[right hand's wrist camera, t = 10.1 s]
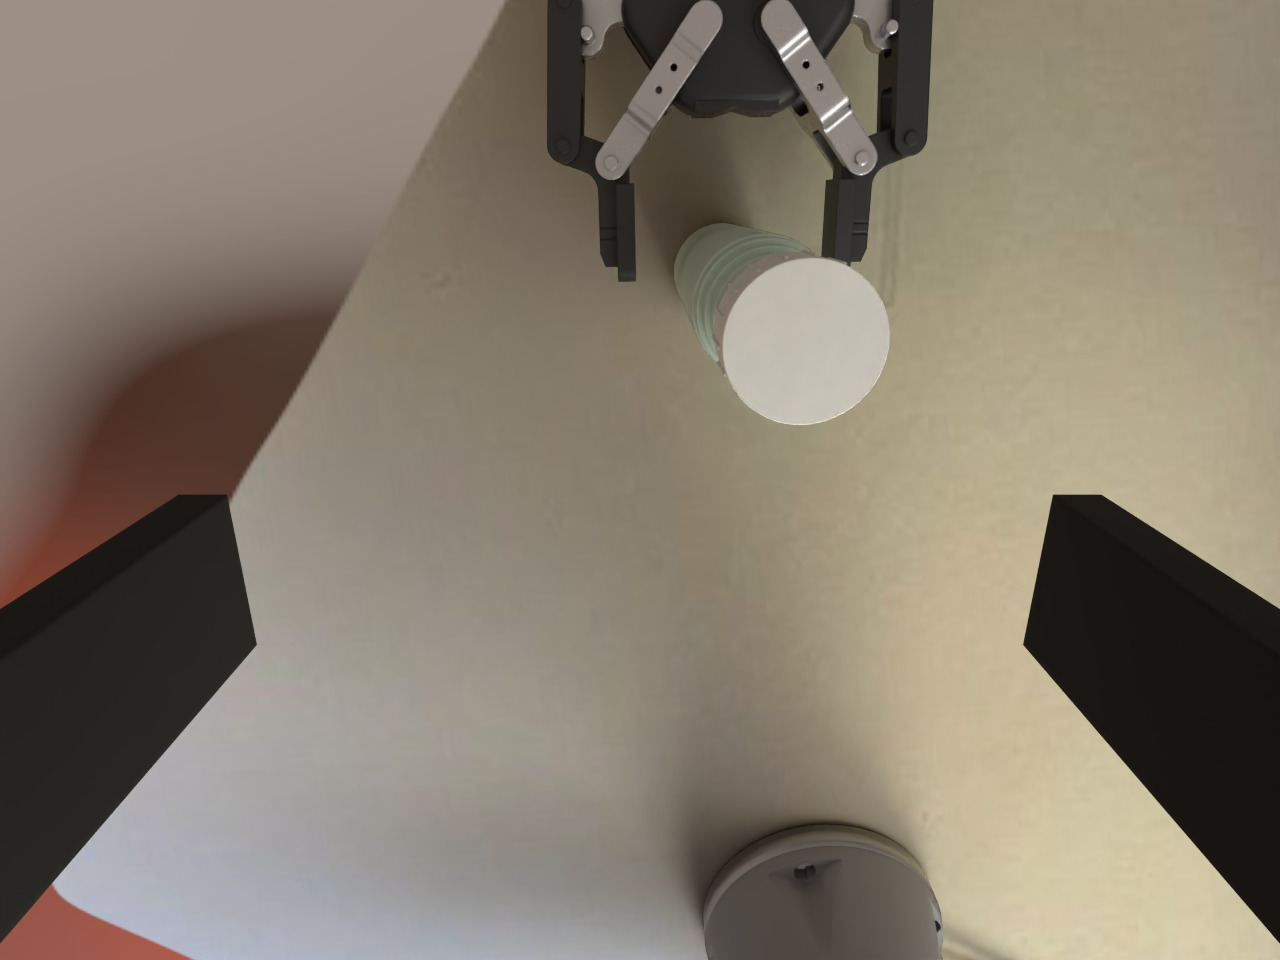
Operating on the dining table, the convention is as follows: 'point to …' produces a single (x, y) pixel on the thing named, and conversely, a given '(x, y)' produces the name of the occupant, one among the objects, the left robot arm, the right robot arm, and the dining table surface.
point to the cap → (801, 337)
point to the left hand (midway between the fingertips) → (730, 278)
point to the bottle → (719, 269)
